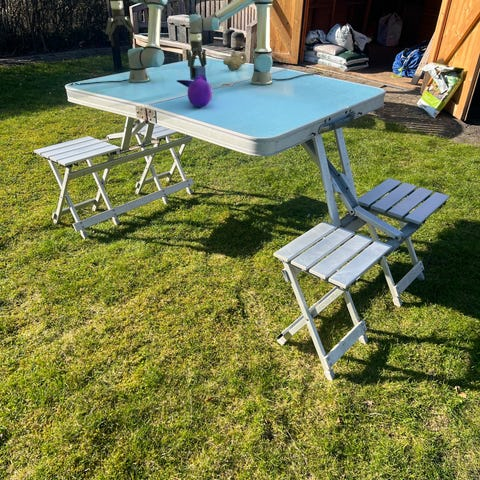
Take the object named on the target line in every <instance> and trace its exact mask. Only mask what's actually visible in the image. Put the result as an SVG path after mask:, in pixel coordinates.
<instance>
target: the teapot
mask: <svg viewBox="0 0 480 480" xmlns="http://www.w3.org/2000/svg"><path fill="white" fill-rule="evenodd" d="M241 58H242V59H241ZM222 61H223V62H222V63H223V65H225V66H227V69H228V70H229V71H231V72H233V71H234V72H235V71H238V70H239V69H241V68H242V67H243V65H245V64H246V63H247V55H246V52H241V53H239V54H238V53H237V52H236V50H232V53H231V54H230V57H229V56H226V57H224V59H223V60H222Z"/></svg>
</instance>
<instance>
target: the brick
mask: <svg viewBox="0 0 480 480" xmlns="http://www.w3.org/2000/svg"><path fill="white" fill-rule="evenodd" d="M194 68H195V77H197V76H200V75H204V76H206V75H207V74H206V72H207V71H206V66H204V67H203V66H201V65H194ZM206 77H207V76H206ZM189 78H190V79H189V80H190V81H194V80H195V78H193V77H192V72H191V68H190V67H189Z"/></svg>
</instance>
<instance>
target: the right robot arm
mask: <svg viewBox="0 0 480 480" xmlns="http://www.w3.org/2000/svg"><path fill="white" fill-rule="evenodd" d="M273 3H274V0H233V1H231V2H229V3H228V4H226V5H225V6H223V7H221V8H220V9H219V10H217V11H216V12H214V13H212V14H211V15H208V16H207V17H202V16H201V14H197V13H195V14H190V15H188V25H189V39H190V48H191V49H190V50H187V51H186V52H187V67H189V69H190V68H191V72H192V77H193V78H195V68H194V66H195V63H196V58H197V57H198V60H199V63H200V66H203V67H206V65H207V55H206V51H207V50H206V48H202V47H203V42H202V39H203V37H202V32H203V31H204V32H205V31H213V32H215V31H219V30H220V24H222V23H224V22H226V21H227V20H229V19H230V18H232V17H233V16H235V15H237V14H238V13H240V12H241V11H243V10H245V9H246V8H248V7H250V6H251V5H254V6H255V7H256V48H254V49H253V53H252V54H253V73H252V75H251V79H250V84H252V85H255V86H268V85H272V84H273V81H289V80H292V79H295V78H299V77H304V76H311V75H312V76H314V75H319V74H321V75H323V74H324V73H323V72H322V71H318V72H313V73H312V72H311V73H304V74H299V75H296V76H292V77H287V78H272V74H271V69H272V66H273V50H272V48H271V7H272V6H273Z"/></svg>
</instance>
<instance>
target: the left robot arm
mask: <svg viewBox="0 0 480 480" xmlns="http://www.w3.org/2000/svg"><path fill="white" fill-rule="evenodd" d="M130 1H131V2H132V3H136V4H141V5H147V6H146V7H147V8H148V25H147V26H148V27H147V44H146V45H145V46H144V47H142V46H141V47H134V48H130V49H127V57H128V66H129V76H128V78H127V79H122V80H106V81H105V80H103V81H92V82H78V83H80V84H78V83H77V82H71V84H70V86H73V85H79V86H81V85H93V84H105V83H124V82H127V81H128V82H129V83H133V84H141V83H148V82H150V75H149V74H148V71H147V68H160V67H162V66H163V65H164V62H165V53H164V51H163V50H162V47H161V27H162V26H161V25H162V11H163V10H164V8H165V5H167V4H168V0H130ZM109 2H110V9H111V15H112V17H108V18H107V25H106V28H105V33H104V34H105V35H108V40H109V41H110V45H111V47H115V41H114V39H115V38H114V35H113V34H114V31H115V30H116V27H117V26H124V28H126V29H127V31H128V32H129V33H128V36H129V44H130V45H134V37H135V36H134V33H136V31H137V30H136V28H135V27H134V24H133V23H132V21H131V19H130V16H127V15H126V16H125V9H124V2H123V0H109ZM73 83H75V84H73Z"/></svg>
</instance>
